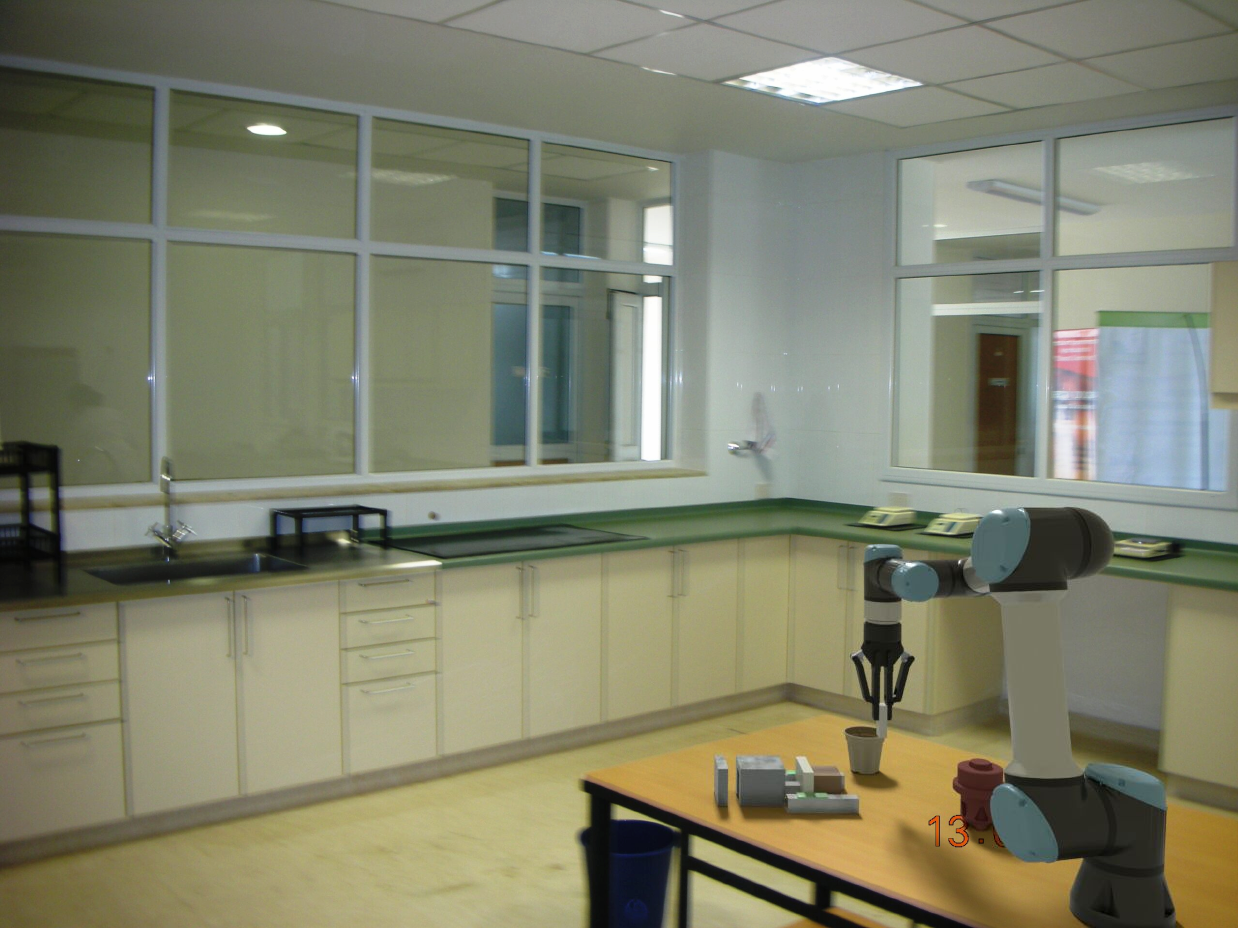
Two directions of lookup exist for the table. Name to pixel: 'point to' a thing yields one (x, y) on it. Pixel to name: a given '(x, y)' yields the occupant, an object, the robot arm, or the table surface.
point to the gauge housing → (775, 787)
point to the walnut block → (827, 779)
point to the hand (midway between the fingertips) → (881, 735)
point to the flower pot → (864, 749)
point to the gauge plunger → (801, 778)
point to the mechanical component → (977, 790)
